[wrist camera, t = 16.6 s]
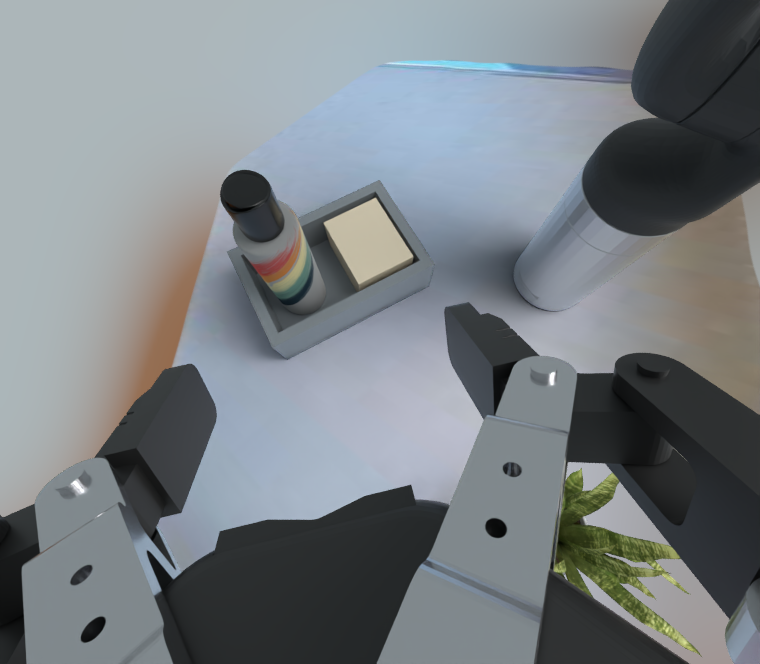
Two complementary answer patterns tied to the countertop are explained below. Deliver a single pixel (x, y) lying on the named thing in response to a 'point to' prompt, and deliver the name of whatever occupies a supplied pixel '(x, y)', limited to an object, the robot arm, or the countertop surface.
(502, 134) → the countertop surface
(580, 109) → the countertop surface
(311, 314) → the tote
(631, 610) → the house plant
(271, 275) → the lotion bottle
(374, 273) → the plain beige carton
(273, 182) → the countertop surface
